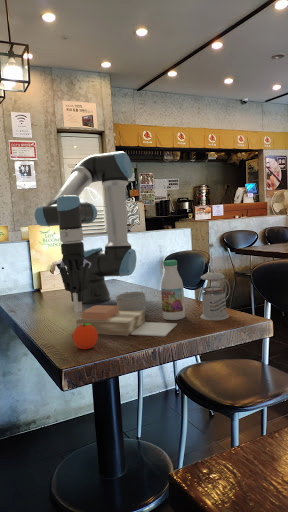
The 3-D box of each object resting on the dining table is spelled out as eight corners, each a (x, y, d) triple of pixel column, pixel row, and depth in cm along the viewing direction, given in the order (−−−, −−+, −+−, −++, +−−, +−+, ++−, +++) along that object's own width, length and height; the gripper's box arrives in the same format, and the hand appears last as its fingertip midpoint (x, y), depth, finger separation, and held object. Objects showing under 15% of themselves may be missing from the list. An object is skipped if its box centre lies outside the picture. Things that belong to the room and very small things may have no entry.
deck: (98, 320, 132) (97, 309, 132) (145, 322, 125) (144, 310, 125) (77, 332, 119) (76, 320, 119) (128, 335, 112) (127, 322, 112)
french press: (194, 316, 128) (189, 244, 126) (219, 310, 134) (216, 241, 132) (213, 322, 120) (208, 245, 117) (239, 315, 126) (235, 241, 123)
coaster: (95, 311, 129) (94, 305, 129) (118, 312, 126) (118, 305, 126) (81, 318, 121) (81, 312, 121) (106, 319, 118) (105, 312, 117)
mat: (145, 323, 124) (145, 322, 124) (177, 324, 120) (176, 323, 120) (131, 334, 113) (130, 333, 113) (165, 336, 109) (164, 335, 109)
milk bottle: (167, 314, 134) (163, 259, 132) (188, 315, 131) (184, 258, 129) (159, 320, 127) (155, 262, 125) (181, 321, 124) (177, 261, 122)
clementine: (89, 341, 109) (87, 318, 109) (106, 345, 105) (104, 320, 105) (68, 350, 103) (66, 325, 102) (86, 354, 99) (83, 328, 98)
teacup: (148, 318, 130) (146, 296, 130) (117, 321, 130) (115, 298, 129) (145, 308, 144) (143, 288, 143) (117, 311, 144) (115, 291, 143)
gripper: (49, 244, 123) (56, 313, 126) (82, 242, 118) (89, 314, 121) (62, 242, 130) (68, 307, 132) (94, 240, 125) (100, 308, 127)
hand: (78, 311), depth 126 cm, fingers closed
